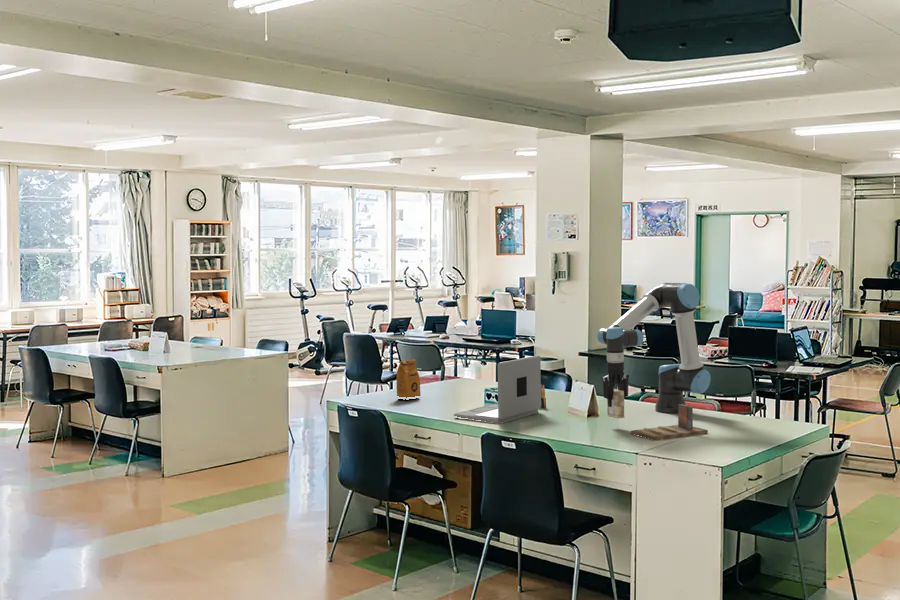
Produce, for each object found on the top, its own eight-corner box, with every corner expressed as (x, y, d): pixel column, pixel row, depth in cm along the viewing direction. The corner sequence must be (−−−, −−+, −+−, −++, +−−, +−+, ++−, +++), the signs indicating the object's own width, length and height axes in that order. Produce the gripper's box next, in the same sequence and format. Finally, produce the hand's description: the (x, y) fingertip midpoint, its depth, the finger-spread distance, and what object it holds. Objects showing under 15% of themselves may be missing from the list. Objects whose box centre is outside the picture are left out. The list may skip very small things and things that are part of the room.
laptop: (494, 408, 463) (494, 352, 461) (541, 413, 446) (541, 355, 444) (453, 419, 434) (452, 359, 433) (501, 425, 417) (500, 363, 416)
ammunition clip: (546, 407, 460) (546, 384, 460) (543, 408, 459) (543, 384, 458) (530, 405, 468) (530, 382, 467) (528, 405, 467) (527, 383, 466)
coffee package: (423, 399, 494) (422, 359, 493) (406, 402, 485) (405, 361, 484) (411, 397, 501) (410, 358, 500) (394, 400, 492) (393, 360, 491)
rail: (682, 427, 403) (682, 401, 402) (707, 433, 388) (707, 407, 388) (630, 434, 390) (630, 407, 389) (654, 440, 375) (654, 413, 375)
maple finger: (615, 415, 407) (615, 388, 407) (624, 417, 401) (624, 390, 400) (607, 416, 405) (607, 389, 405) (616, 418, 399) (616, 391, 399)
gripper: (604, 364, 395) (605, 416, 396) (636, 361, 402) (637, 412, 404) (594, 362, 401) (595, 414, 403) (625, 359, 409) (626, 410, 410)
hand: (616, 413), depth 403 cm, fingers closed on maple finger, 4 cm apart
